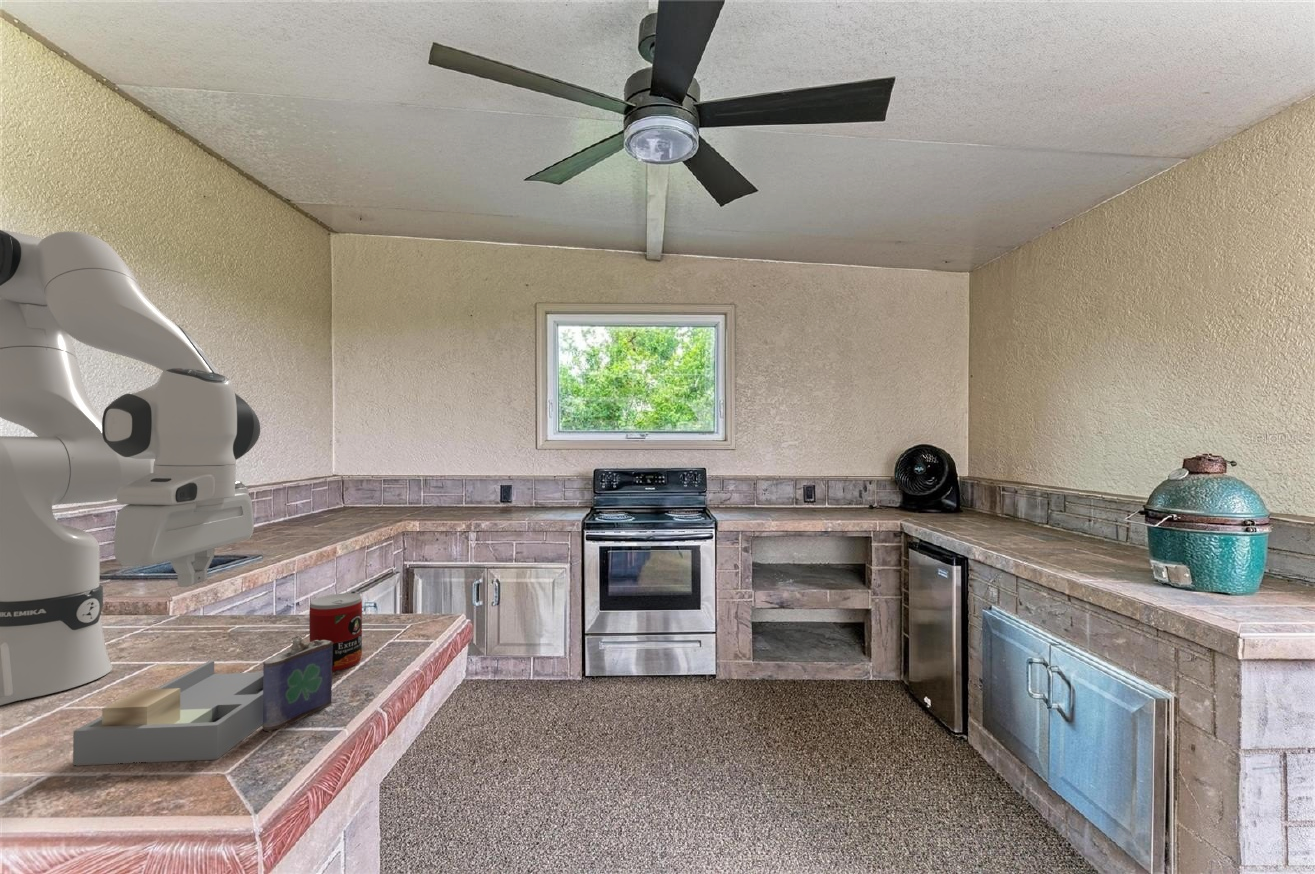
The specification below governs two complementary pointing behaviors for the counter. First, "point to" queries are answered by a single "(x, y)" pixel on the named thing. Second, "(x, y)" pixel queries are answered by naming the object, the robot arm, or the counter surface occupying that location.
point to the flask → (297, 683)
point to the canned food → (338, 626)
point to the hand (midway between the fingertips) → (192, 584)
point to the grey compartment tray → (182, 723)
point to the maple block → (144, 708)
